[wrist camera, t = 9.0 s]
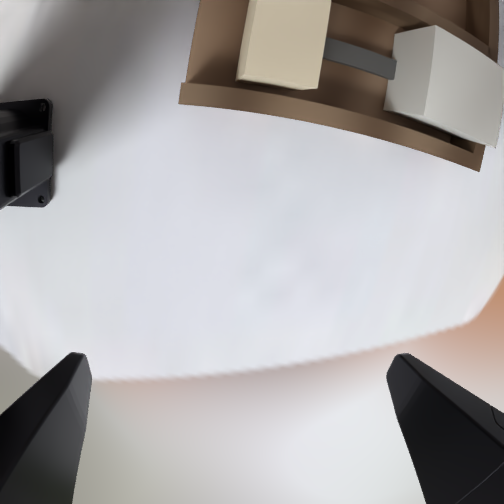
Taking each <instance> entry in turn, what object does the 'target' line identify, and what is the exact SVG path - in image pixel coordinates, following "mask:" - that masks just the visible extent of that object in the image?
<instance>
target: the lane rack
mask: <svg viewBox="0 0 504 504" xmlns="http://www.w3.org/2000/svg"><path fill="white" fill-rule="evenodd" d="M249 1H250V0H200V4H199V9H198V14H197V19H196V24H195V29H194V34H193V40H192V45H191V51H190V57H189V63H188V69H187V76H186V82H185V83H181V89H180V96H179V103H178V104H184V105H195V106H206V107H215V108H224V109H232V110H240V111H247V112H254V113H260V114H267V115H273V116H279V117H285V118H290V119H295V120H301V121H306V122H311V123H316V124H320V125H325V126H330V127H334V128H338V129H343V130H347V131H351V132H355V133H359V134H363V135H367V136H371V137H374V138H378V139H382V140H385V141H389V142H392V143H396V144H399V145H403V146H406V147H409V148H412V149H416V150H419V151H422V152H425V153H428V154H431V155H434V156H437V157H440V158H443V159H445V160H448V161H451V162H454V163H457V164H459V165H462V166H465V167H467V168H470V169H472V170H475V171H478V172H480V168H481V163H482V159H483V155H484V150H485V145H484V144H480V143H477V142H473V141H470V140H466V139H463V138H459V137H455V136H452V135H450V134H448V133H445V132H443V131H440V130H438V129H435V128H433V127H430V126H427V125H425V124H422V123H419V122H417V121H414V120H411V119H408V118H406V117H403V116H400V115H397V114H394V113H391V112H388V111H385V110H383V109H384V103H385V97H386V91H387V86H388V79H385V78H383V77H380V76H377V75H374V74H371V73H368V72H365V71H362V70H359V69H356V68H352V67H349V66H346V65H342V64H339V63H335V62H332V61H328V60H324V59H322V64H321V70H320V76H319V82H318V88H316V89H306V90H297V91H290V90H284V89H279V88H274V87H268V86H262V85H256V84H249V83H243V82H235V79H236V73H237V67H238V61H239V56H240V50H241V44H242V38H243V33H244V27H245V22H246V16H247V11H248V6H249ZM434 25H437V26H438V27H440V28H442V29H444V30H446V31H447V32H449V33H451V34H452V35H454V36H456V37H457V38H459V39H461V40H462V41H464V42H466V43H467V44H469V45H470V46H472V47H473V48H475V49H477V50H478V51H480V52H481V53H483V54H484V55H485V56H487V57H488V58H490V59H491V60H493V61H494V62H495V63H497V59H498V40H499V0H331V6H330V13H329V20H328V26H327V33H326V37H328V38H331V39H335V40H338V41H342V42H345V43H348V44H351V45H354V46H357V47H360V48H363V49H366V50H369V51H372V52H375V53H377V54H380V55H383V56H385V57H388V58H391V59H392V52H393V45H394V37H395V34H397V33H401V32H406V31H410V30H414V29H419V28H424V27H429V26H434Z"/></svg>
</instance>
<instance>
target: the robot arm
mask: <svg viewBox="0 0 504 504" xmlns="http://www.w3.org/2000/svg"><path fill="white" fill-rule="evenodd" d="M43 104H45V105H46V109H45V110H44V111H43V110H42V105H43ZM51 119H52V102H51V101H50V100H49V99H37V100H26V101H16V102H7V103H0V210H1V209H2V208H4V207H5V206H22V207H45V206H46V205H47V204H49V202H50V199H51V194H50V177H51V176H52V159H53V134H52V132H51ZM41 196H43V197H44V199H45V201H42V200H41ZM386 378H387V383H388V387H389V390H390V393H391V398H392V401H393V405H394V409H395V413H396V416H397V420H398V423H399V425H400V428H401V431H402V433H403V436H404V439H405V442H406V445H407V448H408V450H409V453H410V456H411V459H412V462H413V465H414V468H415V470H416V474H417V477H418V480H419V483H420V486H421V489H422V492H423V495H424V498H425V502H426V504H504V413H502V412H501V411H499V410H498V409H496V408H494V407H493V406H490V404H488V403H486V402H485V401H483V400H482V399H480V398H479V397H477V396H475V395H474V394H472V393H471V392H469V391H467V390H466V389H464V388H463V387H461V386H460V385H458V384H456V383H455V382H453V381H452V380H450V379H449V378H447V377H445V376H444V375H442V374H441V373H439V372H437V371H436V370H434V369H433V368H431V367H430V366H428V365H426V364H425V363H423V362H422V361H420V360H419V359H417V358H415V357H414V356H412V355H411V354H409V353H403V354H397V355H396V356H395V358H394V360H393V361H392V364H391V366H390V368H389V370H388V372H387V375H386ZM91 384H92V375H91V371H90V368H89V364H88V360H87V357H86V355H85V354H83V353H76V352H71V353H69V354H68V355H67V356H66V357H65V358H64V359H62V360H61V361H60V362H59V363H58V364H57V365H55V366H54V367H53V368H52V369H51V370H50V371H49V372H47V373H46V374H45V375H44V376H43V377H42V378H41V379H40V380H38V381H37V382H36V383H35V384H34V385H33V386H32V387H30V389H28V390H27V391H26V392H25V393H24V394H23V395H22V396H21V397H19V398H18V399H17V400H16V401H15V402H14V403H13V404H12V405H11V406H9V407H8V408H7V409H6V410H5V411H4V412H3V413H2V414H1V415H0V504H72V501H73V494H74V488H75V482H76V476H77V471H78V465H79V460H80V455H81V450H82V445H83V441H84V436H85V431H86V424H87V415H88V407H89V399H90V391H91Z"/></svg>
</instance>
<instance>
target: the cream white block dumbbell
mask: <svg viewBox="0 0 504 504" xmlns="http://www.w3.org/2000/svg"><path fill="white" fill-rule="evenodd" d="M330 6H331V0H250V1H249V6H248V11H247V16H246V22H245V27H244V33H243V38H242V44H241V50H240V56H239V61H238V67H237V73H236V79H235V82H243V83H249V84H256V85H262V86H268V87H274V88H279V89H284V90H290V91H297V90H306V89H316V88H318V82H319V76H320V70H321V64H322V59H324V60H328V61H332V62H335V63H339V64H342V65H346V66H349V67H352V68H356V69H359V70H362V71H365V72H368V73H371V74H374V75H377V76H380V77H383V78H385V79H388V86H387V91H386V97H385V103H384V109H383V110H385V111H388V112H391V113H394V114H397V115H400V116H403V117H406V118H408V119H411V120H414V121H417V122H419V123H422V124H425V125H427V126H430V127H433V128H435V129H438V130H440V131H443V132H445V133H448V134H450V135H452V136H455V137H459V138H463V139H466V140H470V141H473V142H477V143H480V144H484V145H487V146H490V147H493V148H496V145H497V140H498V135H499V130H500V124H501V118H502V111H503V104H504V68H502V67H501V66H500V65H498V64H497V63H495V62H494V61H493V60H491V59H490V58H488V57H487V56H485V55H484V54H483V53H481V52H480V51H478V50H477V49H475V48H473V47H472V46H470V45H469V44H467V43H466V42H464V41H462V40H461V39H459V38H457V37H456V36H454V35H452V34H451V33H449V32H447V31H446V30H444V29H442V28H440V27H438V26H437V25H434V26H429V27H424V28H419V29H414V30H410V31H406V32H401V33H397V34H395V37H394V45H393V52H392V59H391V58H388V57H385V56H383V55H380V54H377V53H375V52H372V51H369V50H366V49H363V48H360V47H357V46H354V45H351V44H348V43H345V42H342V41H338V40H335V39H331V38H328V37H326V33H327V26H328V20H329V13H330Z"/></svg>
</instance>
